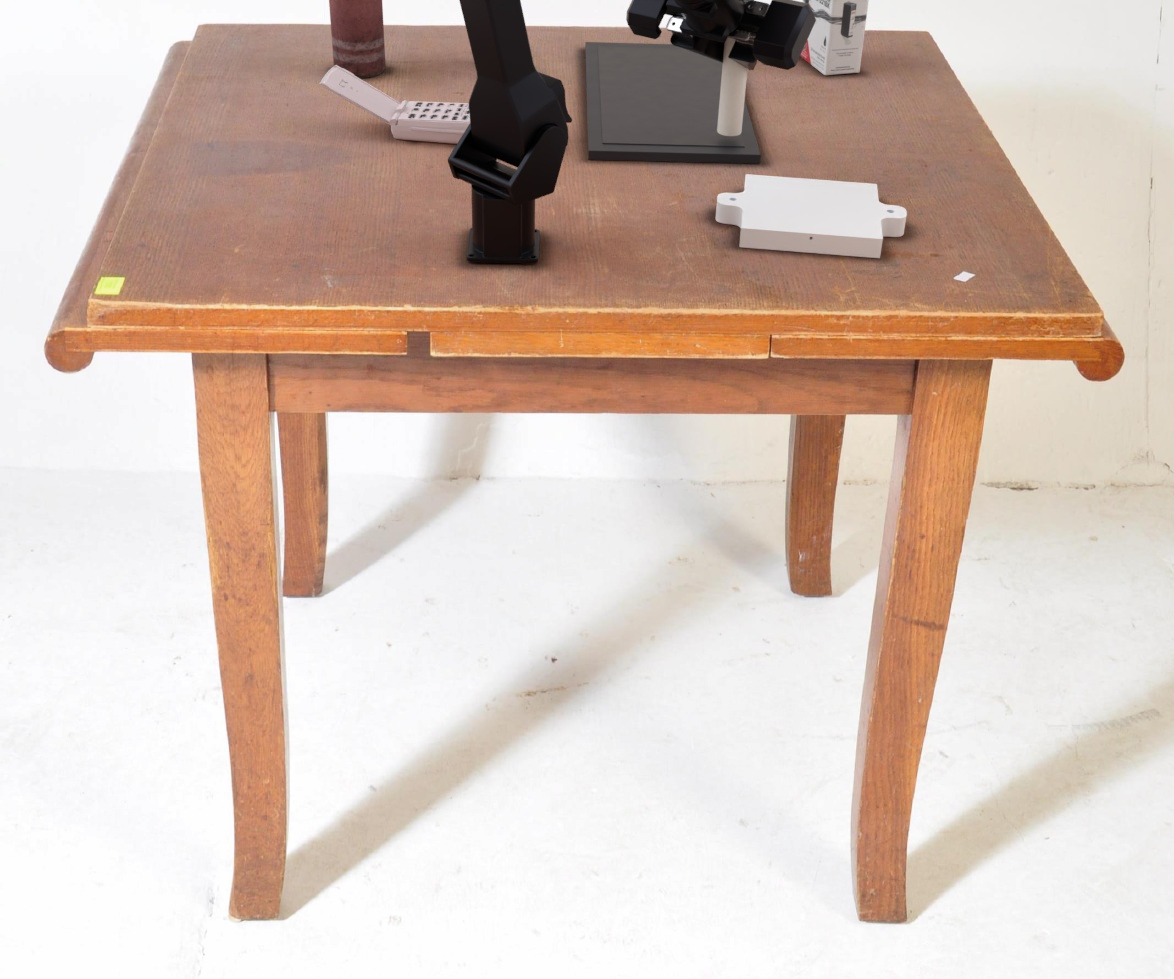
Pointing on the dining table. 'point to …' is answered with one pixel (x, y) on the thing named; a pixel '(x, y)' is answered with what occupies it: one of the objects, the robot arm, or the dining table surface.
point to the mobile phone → (402, 110)
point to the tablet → (659, 106)
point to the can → (358, 36)
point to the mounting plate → (811, 216)
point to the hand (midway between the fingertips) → (741, 63)
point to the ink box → (836, 36)
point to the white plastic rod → (731, 93)
